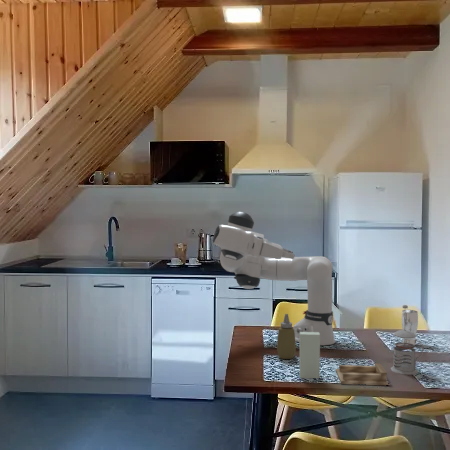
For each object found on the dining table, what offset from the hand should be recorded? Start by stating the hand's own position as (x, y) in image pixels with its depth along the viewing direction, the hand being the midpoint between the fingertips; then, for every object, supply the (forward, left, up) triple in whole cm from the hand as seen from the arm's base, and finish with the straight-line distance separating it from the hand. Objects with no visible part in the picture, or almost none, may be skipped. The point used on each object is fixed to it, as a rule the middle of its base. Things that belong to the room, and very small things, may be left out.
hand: (293, 255), depth 174 cm
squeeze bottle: (-15, +16, -45) cm, 50 cm away
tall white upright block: (+5, +4, -44) cm, 45 cm away
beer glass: (+12, +72, -45) cm, 85 cm away
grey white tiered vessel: (+27, +36, -45) cm, 63 cm away
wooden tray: (+19, +16, -44) cm, 51 cm away
